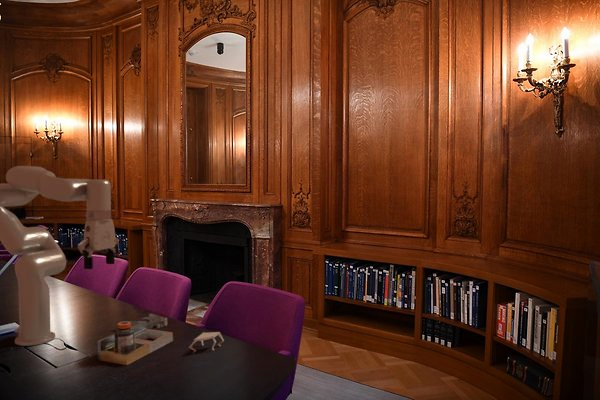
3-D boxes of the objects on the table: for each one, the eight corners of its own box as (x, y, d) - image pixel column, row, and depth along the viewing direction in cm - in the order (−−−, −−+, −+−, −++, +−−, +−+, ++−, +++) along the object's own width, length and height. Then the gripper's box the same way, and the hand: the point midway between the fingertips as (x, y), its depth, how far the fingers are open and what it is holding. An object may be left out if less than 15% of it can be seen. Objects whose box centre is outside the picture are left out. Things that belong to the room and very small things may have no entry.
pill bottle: (118, 353, 152) (117, 320, 152) (136, 353, 153) (136, 319, 152) (112, 360, 146) (111, 325, 146) (131, 360, 147) (131, 325, 146)
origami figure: (206, 342, 164) (206, 328, 164) (225, 346, 160) (225, 332, 160) (182, 353, 154) (182, 338, 153) (202, 357, 149) (202, 342, 149)
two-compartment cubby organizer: (96, 359, 147) (96, 341, 147) (145, 336, 169) (145, 320, 169) (126, 365, 143) (126, 346, 143) (172, 340, 165) (172, 324, 165)
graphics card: (151, 312, 190) (167, 317, 182) (151, 321, 190) (167, 326, 183) (112, 321, 178) (127, 327, 170) (112, 331, 178) (128, 337, 170)
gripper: (87, 218, 146) (88, 271, 146) (125, 214, 162) (126, 262, 163) (69, 217, 148) (70, 270, 149) (109, 214, 164) (109, 261, 165)
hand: (99, 266), depth 156 cm, fingers open, 9 cm apart
